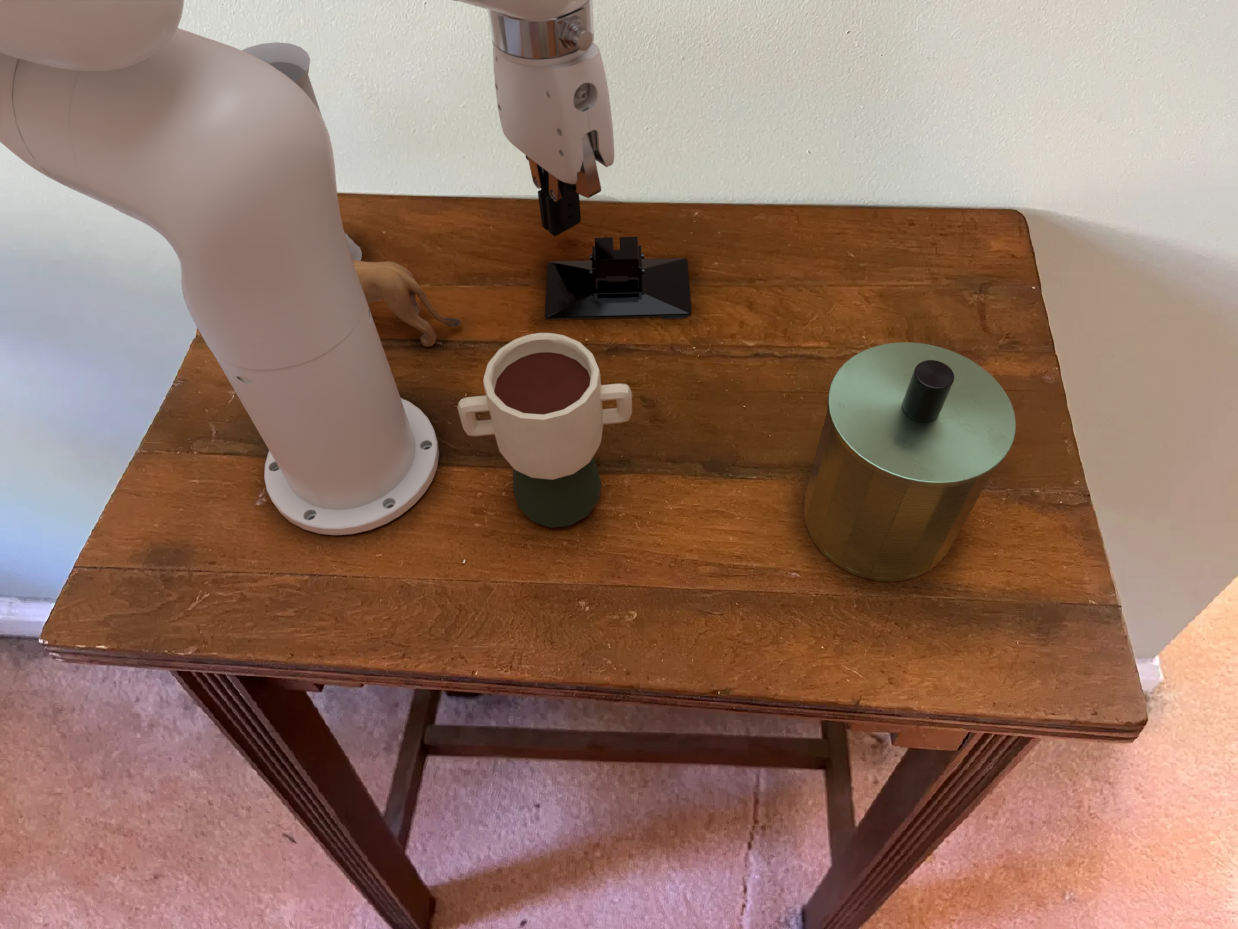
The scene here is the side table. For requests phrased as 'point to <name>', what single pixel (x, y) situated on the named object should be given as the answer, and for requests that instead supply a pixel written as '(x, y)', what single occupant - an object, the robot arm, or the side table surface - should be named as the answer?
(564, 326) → the side table surface
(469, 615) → the side table surface
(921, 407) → the pot lid
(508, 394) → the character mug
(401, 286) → the lion figurine
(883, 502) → the pot
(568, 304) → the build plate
